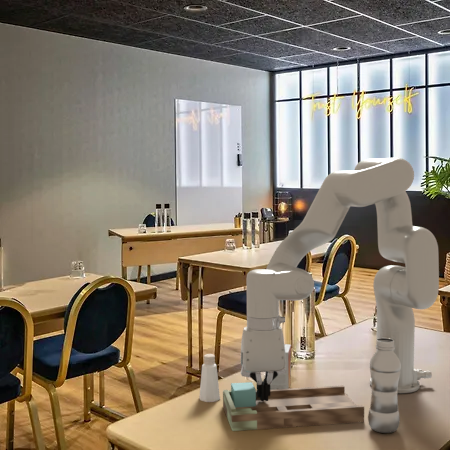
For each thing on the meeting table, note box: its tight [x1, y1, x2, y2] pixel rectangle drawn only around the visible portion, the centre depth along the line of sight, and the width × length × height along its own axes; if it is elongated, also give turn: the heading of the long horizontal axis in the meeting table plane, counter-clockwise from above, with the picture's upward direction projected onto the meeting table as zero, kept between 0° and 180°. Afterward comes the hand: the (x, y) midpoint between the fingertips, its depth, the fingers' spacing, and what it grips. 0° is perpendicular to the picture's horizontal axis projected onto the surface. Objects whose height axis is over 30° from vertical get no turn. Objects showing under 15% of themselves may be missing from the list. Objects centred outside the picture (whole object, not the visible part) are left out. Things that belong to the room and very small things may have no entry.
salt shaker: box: [198, 353, 221, 403], centre depth 151 cm, size 5×5×11 cm
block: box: [230, 381, 257, 408], centre depth 143 cm, size 5×5×4 cm
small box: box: [270, 343, 292, 390], centre depth 158 cm, size 8×6×10 cm
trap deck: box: [222, 384, 365, 432], centre depth 141 cm, size 30×14×4 cm, turn 98°
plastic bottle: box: [367, 338, 401, 434], centre depth 131 cm, size 6×7×20 cm
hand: (263, 399), depth 143 cm, fingers closed
